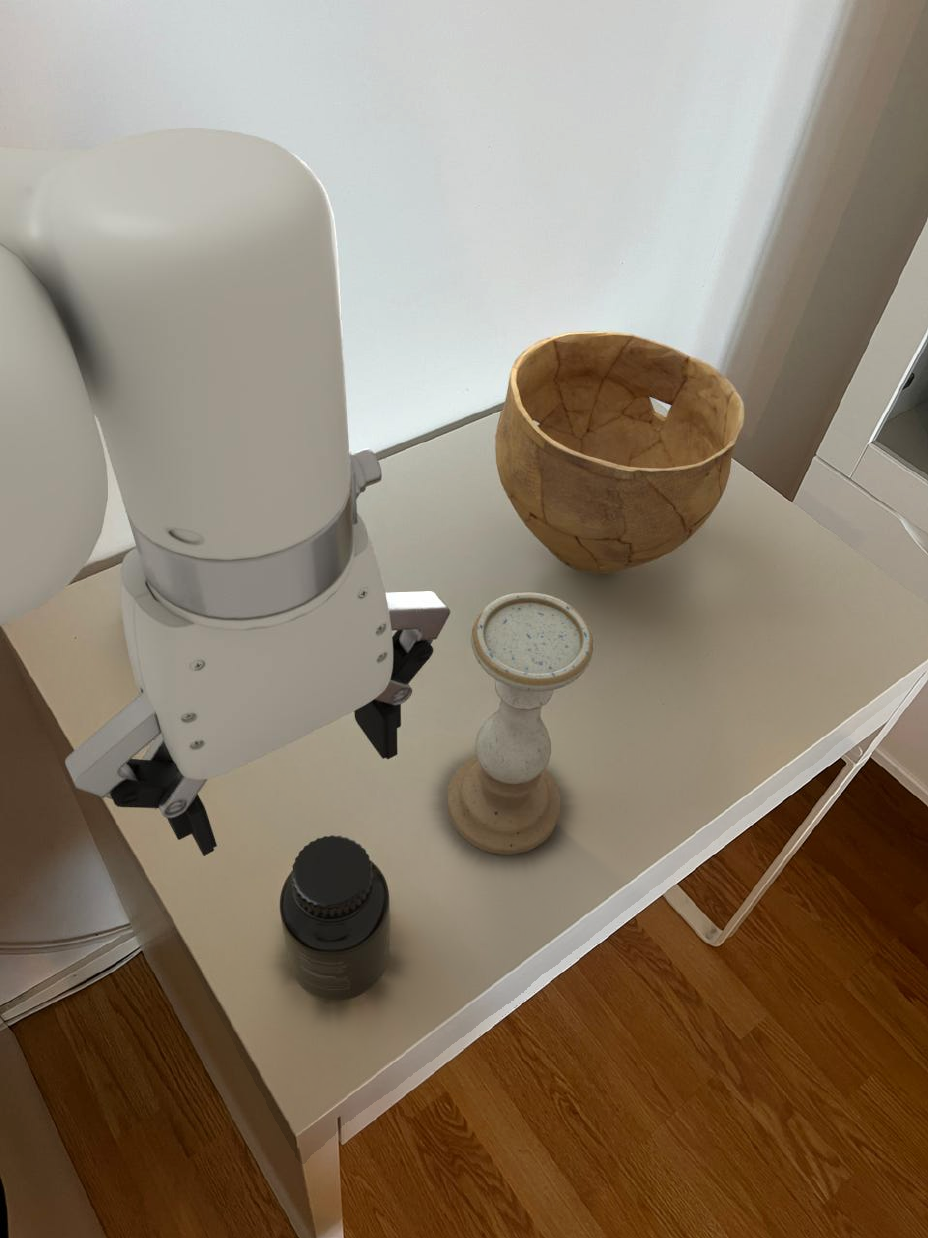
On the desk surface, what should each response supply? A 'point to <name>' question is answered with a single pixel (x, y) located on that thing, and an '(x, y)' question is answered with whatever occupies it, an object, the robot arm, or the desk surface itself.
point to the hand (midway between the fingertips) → (290, 781)
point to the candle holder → (518, 721)
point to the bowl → (614, 447)
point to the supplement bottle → (336, 919)
